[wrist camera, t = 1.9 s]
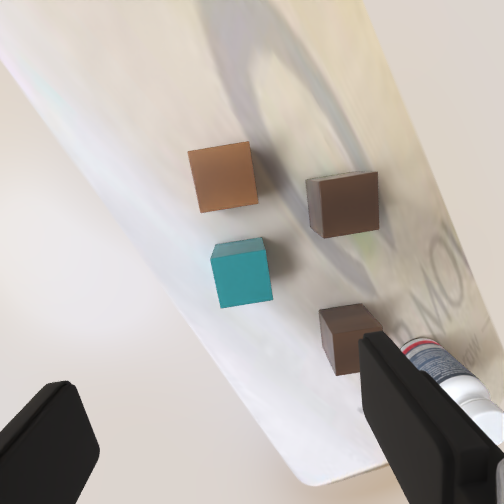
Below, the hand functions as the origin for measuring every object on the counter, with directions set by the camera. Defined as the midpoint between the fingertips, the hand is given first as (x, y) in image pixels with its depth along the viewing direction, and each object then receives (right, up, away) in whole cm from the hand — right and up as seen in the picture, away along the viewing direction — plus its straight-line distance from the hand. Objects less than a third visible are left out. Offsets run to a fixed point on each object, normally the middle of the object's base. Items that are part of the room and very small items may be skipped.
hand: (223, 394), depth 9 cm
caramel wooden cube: (-1, +11, +15) cm, 19 cm away
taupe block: (+8, +9, +16) cm, 20 cm away
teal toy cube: (0, +4, +17) cm, 18 cm away
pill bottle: (+19, -7, +21) cm, 29 cm away
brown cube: (+10, -3, +20) cm, 22 cm away
